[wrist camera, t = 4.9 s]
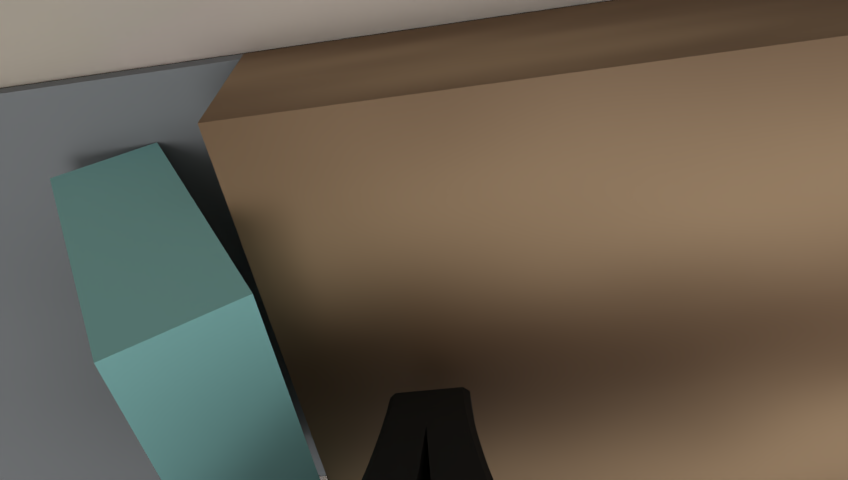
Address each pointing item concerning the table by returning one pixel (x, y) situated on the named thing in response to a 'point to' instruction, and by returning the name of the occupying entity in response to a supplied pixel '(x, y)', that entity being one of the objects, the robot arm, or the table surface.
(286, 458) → the teal rectangular block
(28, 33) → the table surface
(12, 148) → the mat
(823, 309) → the deck
